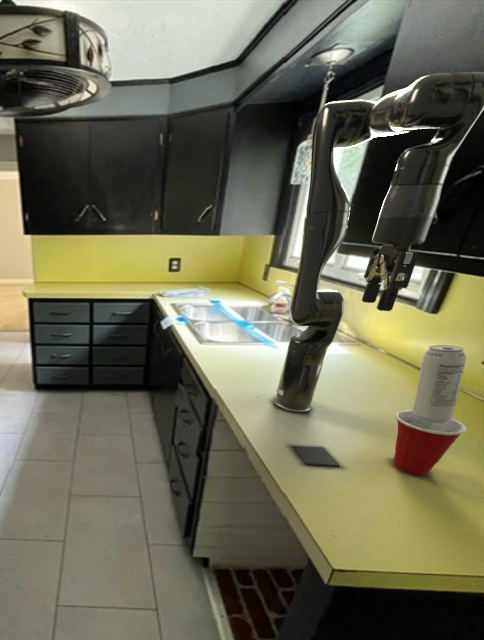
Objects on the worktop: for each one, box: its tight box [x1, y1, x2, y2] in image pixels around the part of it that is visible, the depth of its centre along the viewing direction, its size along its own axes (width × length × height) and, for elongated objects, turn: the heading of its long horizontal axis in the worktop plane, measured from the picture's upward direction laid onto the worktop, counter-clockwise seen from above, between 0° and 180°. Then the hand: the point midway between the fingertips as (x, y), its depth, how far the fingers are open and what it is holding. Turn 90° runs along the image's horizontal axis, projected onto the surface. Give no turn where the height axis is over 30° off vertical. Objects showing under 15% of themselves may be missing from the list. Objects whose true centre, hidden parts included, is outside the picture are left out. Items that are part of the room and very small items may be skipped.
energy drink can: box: [412, 344, 467, 423], centre depth 73 cm, size 6×6×15 cm
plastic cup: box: [393, 409, 467, 476], centre depth 77 cm, size 11×11×12 cm
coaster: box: [292, 445, 340, 467], centre depth 83 cm, size 7×7×1 cm
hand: (375, 306), depth 71 cm, fingers open, 8 cm apart
